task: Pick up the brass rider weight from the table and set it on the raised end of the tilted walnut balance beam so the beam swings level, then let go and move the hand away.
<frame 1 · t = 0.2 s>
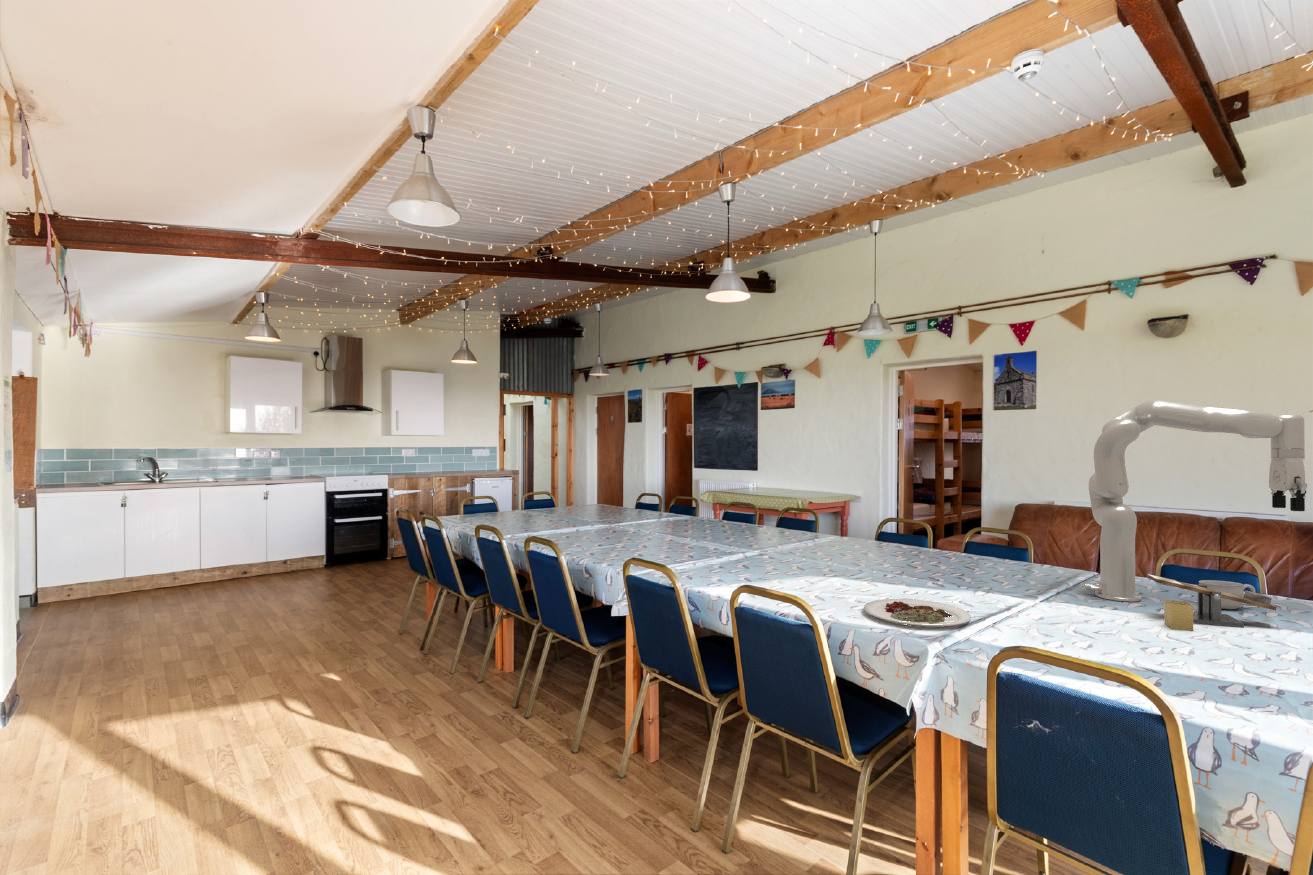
hand: (1288, 509, 200), 31 cm above the table, tool pointing down, fingers open, 9 cm apart
plated food: (915, 617, 194), on the table
rider: (1178, 627, 181), on the table
beam: (1209, 588, 188), point 10 cm above the table, hinge at 12.0°
beam stand: (1209, 620, 188), on the table
teacup: (1227, 608, 202), on the table
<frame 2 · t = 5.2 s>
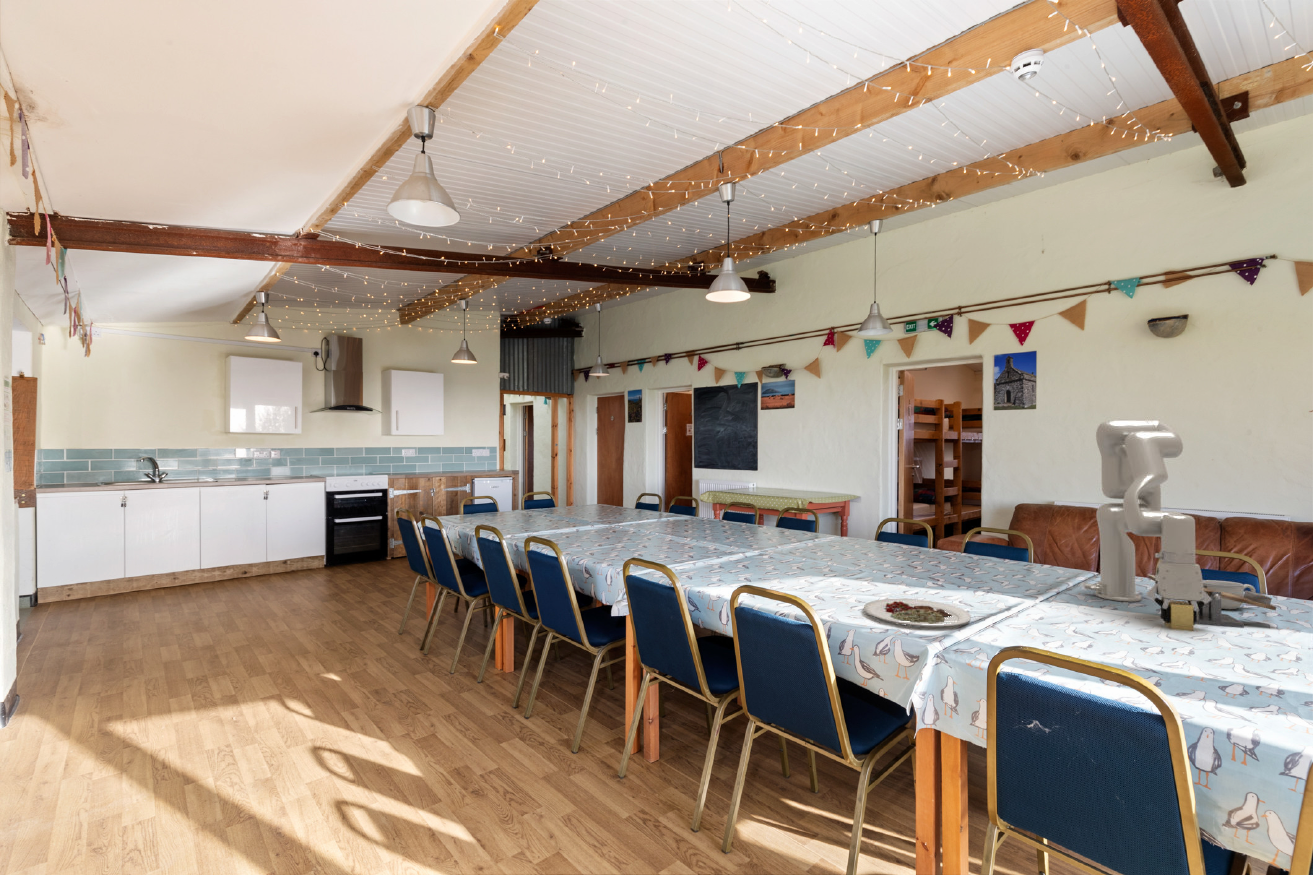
hand: (1178, 622, 181), 1 cm above the table, tool pointing down, fingers closed on rider, 5 cm apart
rider: (1178, 627, 181), on the table, touching gripper
everything else where it was.
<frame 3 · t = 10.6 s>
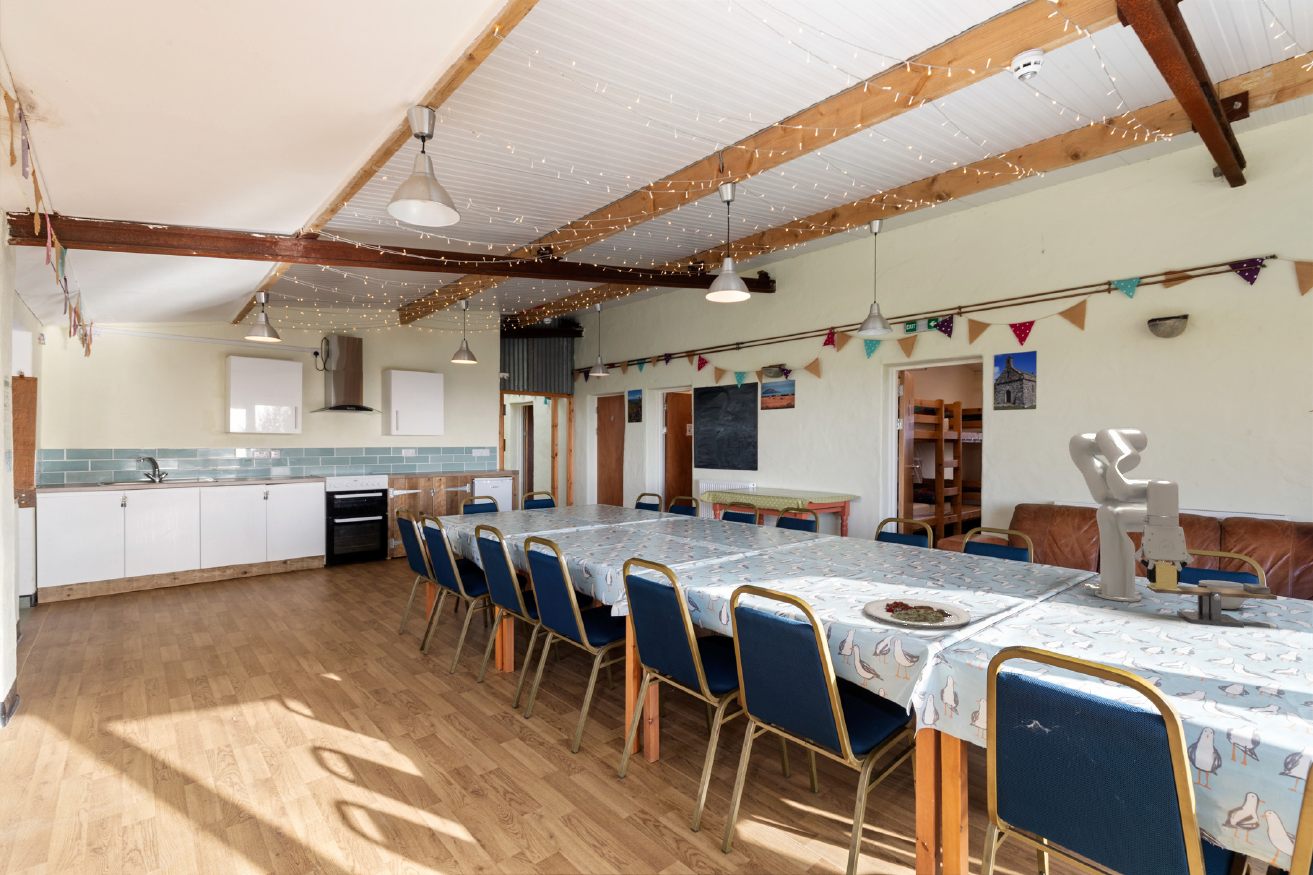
hand: (1163, 582, 192), 11 cm above the table, tool pointing down, fingers closed on rider, 5 cm apart
rider: (1163, 587, 192), point 9 cm above the table, touching beam, gripper
beam: (1207, 588, 188), point 9 cm above the table, hinge at -0.4°, touching rider
everything else where it was.
when the fingers open (11 cm above the table, at t = 11.1 s): rider stays where it is, resting on beam.
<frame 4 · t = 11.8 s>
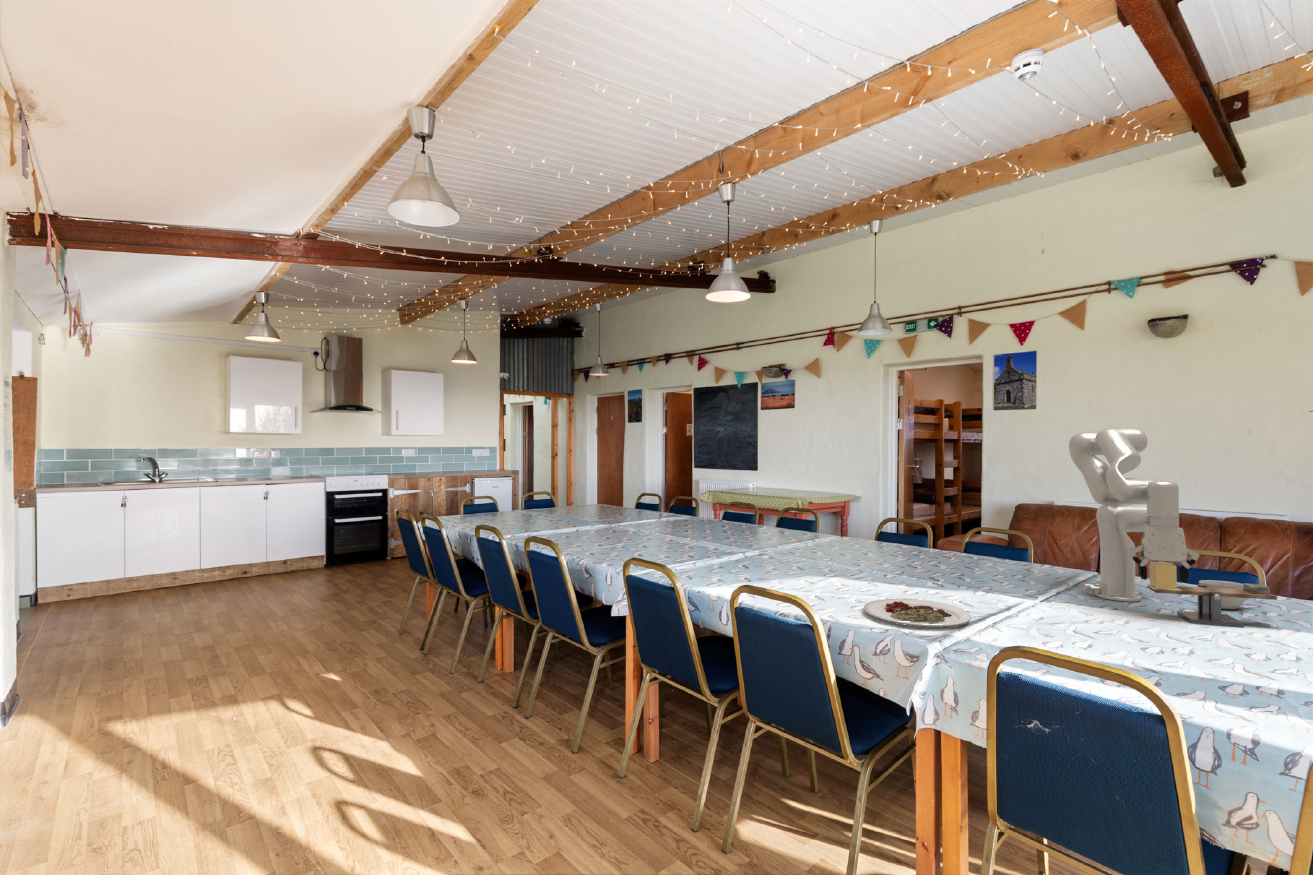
hand: (1163, 580, 192), 11 cm above the table, tool pointing down, fingers open, 9 cm apart
rider: (1163, 587, 192), point 9 cm above the table, touching beam
everything else where it was.
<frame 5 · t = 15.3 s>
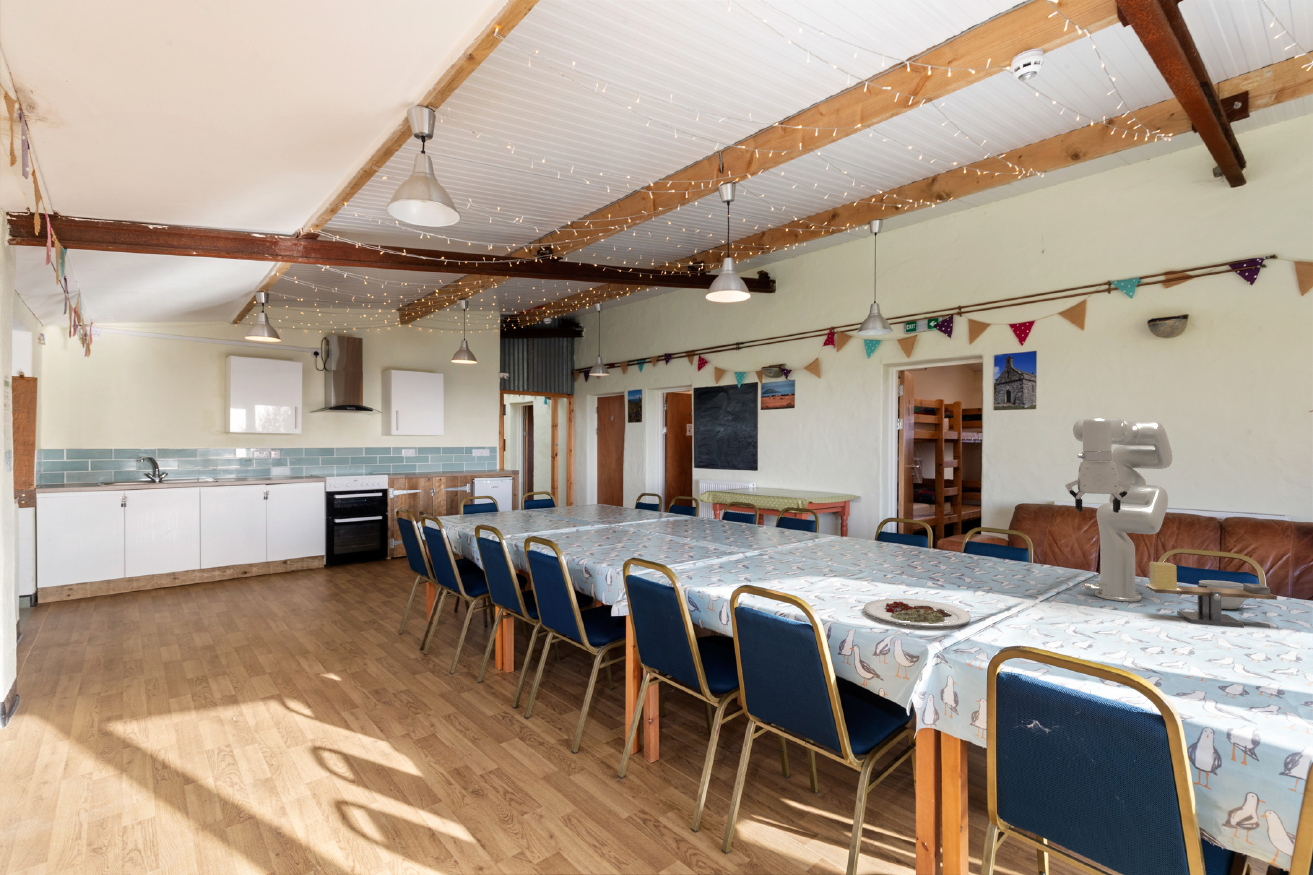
hand: (1097, 511, 203), 30 cm above the table, tool pointing down, fingers open, 9 cm apart
nothing on the table moved.
at the end: beam at +0° (first picture: +12°); rider inside the target area on the beam (1.6 cm from its centre), point 1.0 cm above the beam's base; the gripper is holding nothing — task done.
